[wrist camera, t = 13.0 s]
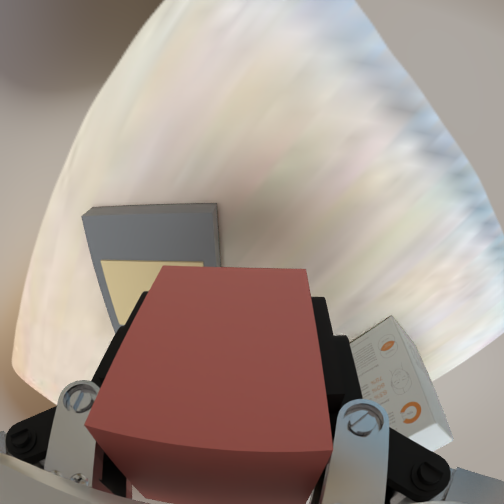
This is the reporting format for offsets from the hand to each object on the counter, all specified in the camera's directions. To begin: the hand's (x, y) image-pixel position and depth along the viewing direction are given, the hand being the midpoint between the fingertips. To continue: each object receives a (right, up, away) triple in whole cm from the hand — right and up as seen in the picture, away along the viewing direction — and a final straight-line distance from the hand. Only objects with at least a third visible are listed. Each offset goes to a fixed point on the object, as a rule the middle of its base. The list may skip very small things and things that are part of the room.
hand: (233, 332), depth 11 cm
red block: (0, 0, 0) cm, 0 cm away
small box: (+14, -8, +21) cm, 26 cm away
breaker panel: (-7, -2, +19) cm, 20 cm away
